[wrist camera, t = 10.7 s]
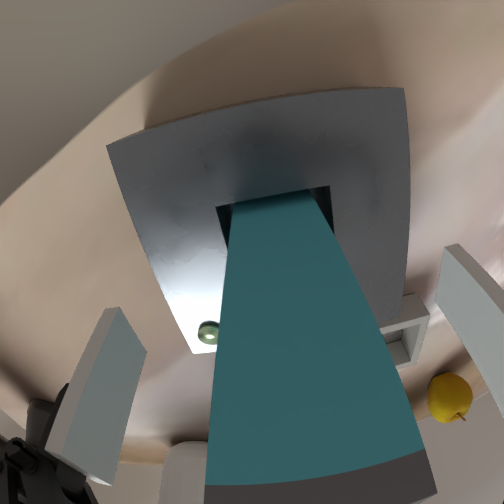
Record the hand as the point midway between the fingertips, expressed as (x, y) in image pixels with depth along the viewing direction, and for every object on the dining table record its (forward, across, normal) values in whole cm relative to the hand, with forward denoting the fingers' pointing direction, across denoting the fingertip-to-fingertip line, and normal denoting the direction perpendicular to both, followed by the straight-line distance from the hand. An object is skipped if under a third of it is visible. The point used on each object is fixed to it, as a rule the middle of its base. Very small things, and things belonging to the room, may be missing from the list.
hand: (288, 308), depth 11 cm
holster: (+10, +8, -14) cm, 19 cm away
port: (+10, 0, 0) cm, 10 cm away
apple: (+10, +19, -28) cm, 35 cm away
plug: (+9, 0, 0) cm, 9 cm away
